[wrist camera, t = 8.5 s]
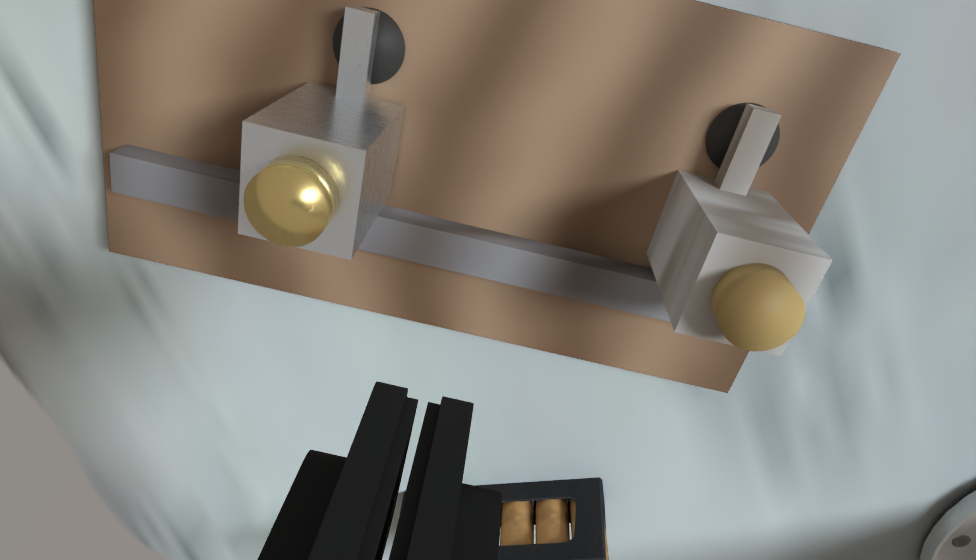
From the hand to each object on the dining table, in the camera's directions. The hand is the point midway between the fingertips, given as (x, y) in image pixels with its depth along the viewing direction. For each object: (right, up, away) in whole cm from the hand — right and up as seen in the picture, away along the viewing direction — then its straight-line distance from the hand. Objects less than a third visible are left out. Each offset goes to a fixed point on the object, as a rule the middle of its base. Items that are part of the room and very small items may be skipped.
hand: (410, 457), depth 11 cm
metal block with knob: (-4, +10, +13) cm, 16 cm away
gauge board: (0, +8, +15) cm, 17 cm away
